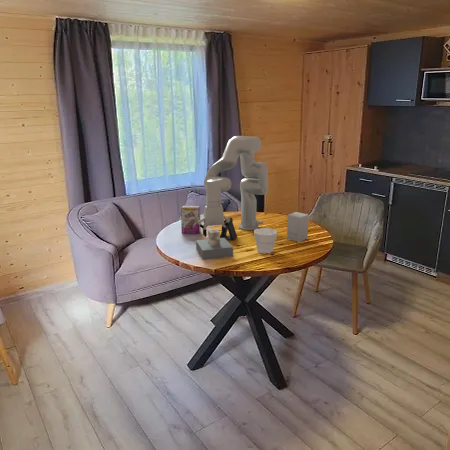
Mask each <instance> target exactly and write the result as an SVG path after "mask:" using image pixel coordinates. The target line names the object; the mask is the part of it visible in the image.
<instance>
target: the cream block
mask: <svg viewBox="0 0 450 450" xmlns="http://www.w3.org/2000/svg"><path fill="white" fill-rule="evenodd" d="M220 235H221V232H220V230H218V229H208V230H207V237H208V238H207V239H208V243H209V244H210V246H214V245H220Z"/></svg>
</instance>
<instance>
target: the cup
mask: <svg viewBox="0 0 450 450" xmlns="http://www.w3.org/2000/svg"><path fill="white" fill-rule="evenodd" d="M253 233H254V234H253V235H254V240H255V242H256V251H257V253H259V254H263V253H264V254H265V253H268V254H272V253H273V252H274V247H275V242H276V240H277V235H278V231H277V229H274V228H270V227H261V228H259V227H258V229H255V230H253ZM271 252H272V253H271ZM265 255H266V254H265Z"/></svg>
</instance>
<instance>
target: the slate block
mask: <svg viewBox="0 0 450 450" xmlns="http://www.w3.org/2000/svg"><path fill="white" fill-rule="evenodd" d="M229 242H230V241H229V240H227V239H225V238H220V245H214V246H210V244H209V243H208V238H206V239H197V240H195V249H196V251H197V253H198V254H199V256H200V258H201V259H202V260H211V259H221V258H231V257H233V256H234V247H233V246H232V244H231V243H229Z"/></svg>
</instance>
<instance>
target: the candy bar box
mask: <svg viewBox="0 0 450 450" xmlns="http://www.w3.org/2000/svg"><path fill="white" fill-rule="evenodd" d="M180 216H181V217H180V219H181V221H180V222H181V234H194V235H198V234H199V235H200V233H201V229H202V228H201V227H200V226H199V224H198V222H197V221H199V220H200V219H201V206H199V205H195V206H194V205H182V206H181V207H180Z"/></svg>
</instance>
